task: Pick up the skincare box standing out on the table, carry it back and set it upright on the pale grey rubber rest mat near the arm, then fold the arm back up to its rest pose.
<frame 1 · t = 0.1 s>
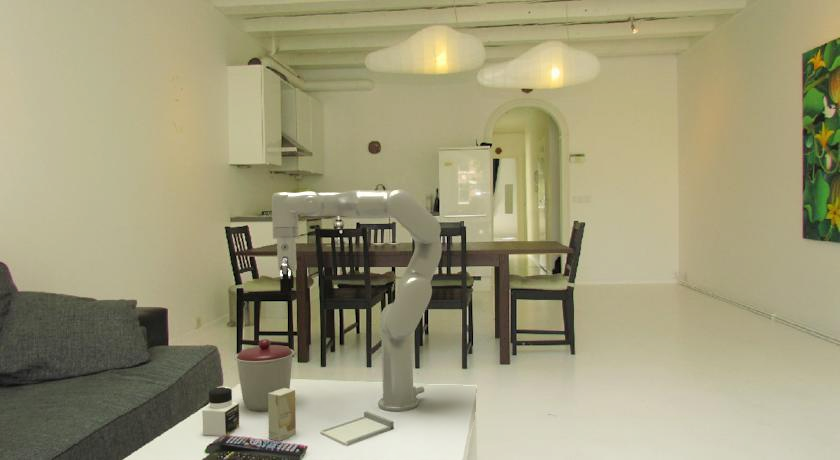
hand: (287, 290, 168), 37 cm above the table, tool pointing down, fingers open, 9 cm apart
canister: (266, 406, 176), on the table
skincare box: (282, 437, 151), on the table
rest mat: (357, 431, 153), on the table
medicine bottle: (221, 431, 156), on the table
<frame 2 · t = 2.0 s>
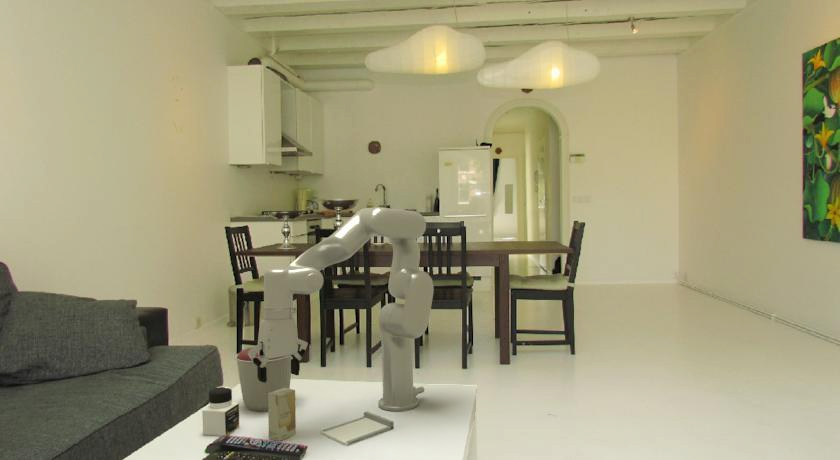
hand: (279, 377, 150), 16 cm above the table, tool pointing down, fingers open, 9 cm apart
nothing on the table moved.
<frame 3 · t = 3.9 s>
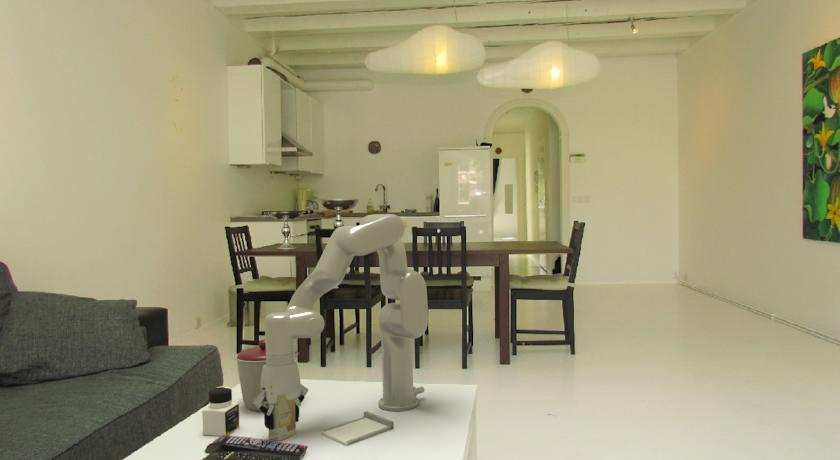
hand: (282, 424, 151), 3 cm above the table, tool pointing down, fingers closed on skincare box, 6 cm apart
skincare box: (282, 436, 151), on the table, touching gripper
everything else where it was.
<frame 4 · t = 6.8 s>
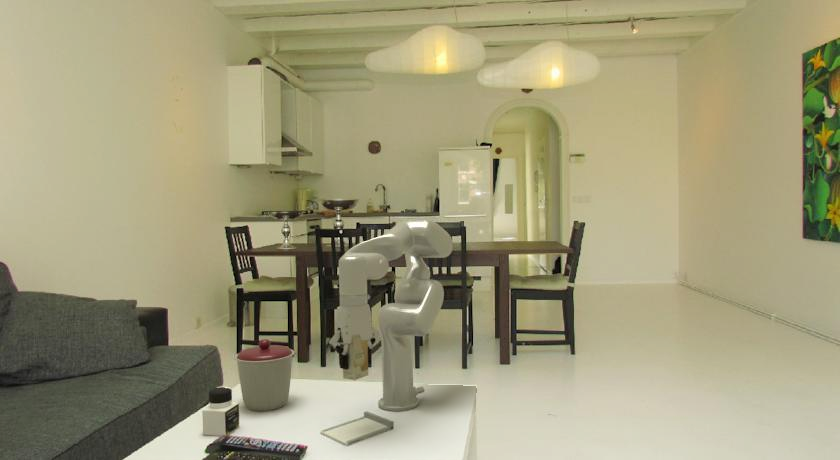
hand: (355, 365, 153), 18 cm above the table, tool pointing down, fingers closed on skincare box, 6 cm apart
skincare box: (356, 377, 153), point 15 cm above the table, touching gripper
everything else where it was.
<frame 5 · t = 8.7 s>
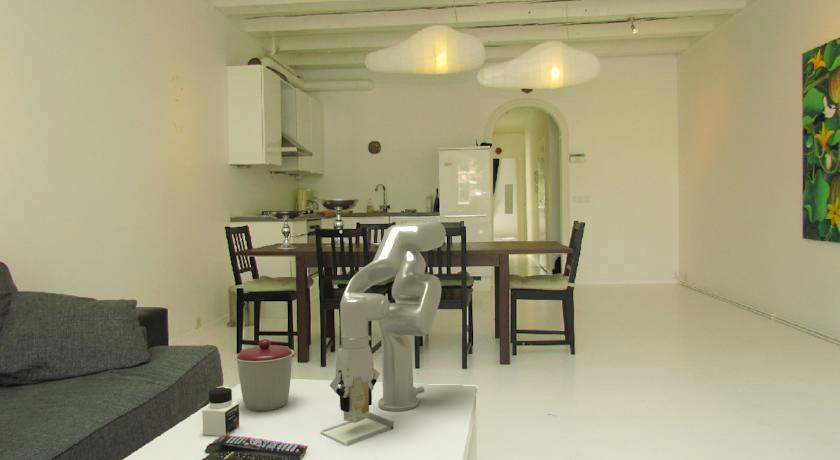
hand: (356, 407, 153), 7 cm above the table, tool pointing down, fingers closed on skincare box, 6 cm apart
skincare box: (356, 419, 153), point 3 cm above the table, touching gripper
everything else where it was.
when the fingers open (5 cm above the table, at t = 10.0 s): skincare box drops 2 cm, resting on rest mat.
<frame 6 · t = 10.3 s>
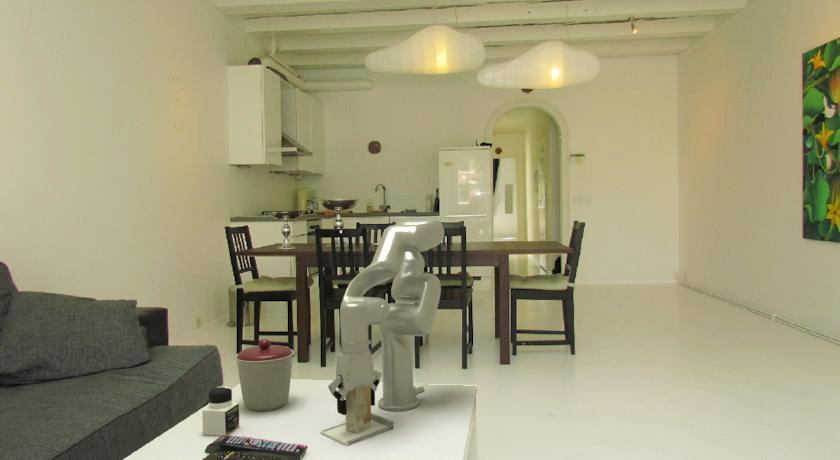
hand: (356, 409, 153), 6 cm above the table, tool pointing down, fingers open, 9 cm apart
skincare box: (359, 429, 153), resting on rest mat
everything else where it was.
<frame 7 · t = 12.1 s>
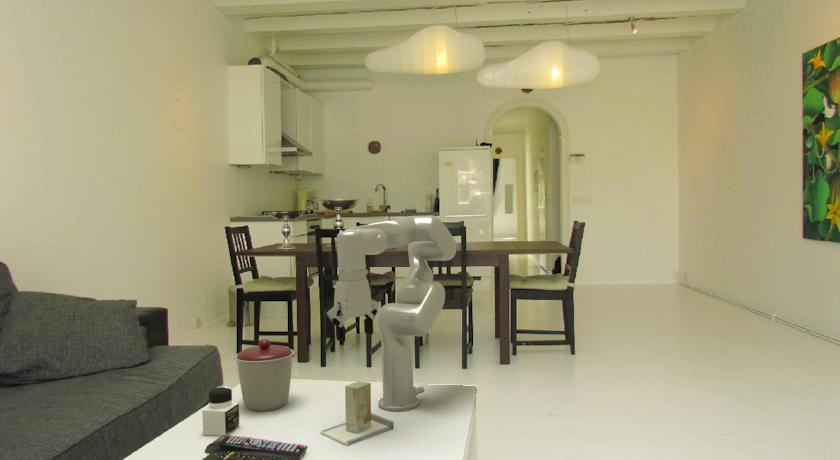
hand: (355, 337, 155), 25 cm above the table, tool pointing down, fingers open, 9 cm apart
nothing on the table moved.
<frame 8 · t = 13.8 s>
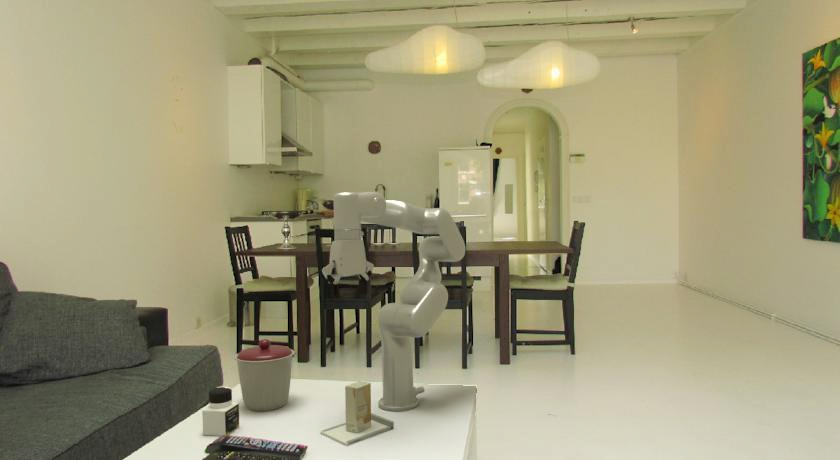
hand: (349, 296, 159), 36 cm above the table, tool pointing down, fingers open, 9 cm apart
nothing on the table moved.
at the end: skincare box inside the target area on the rest mat (0.6 cm from its centre), point 0.4 cm above the rest mat's base; skincare box tilted 0°; the gripper is holding nothing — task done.
